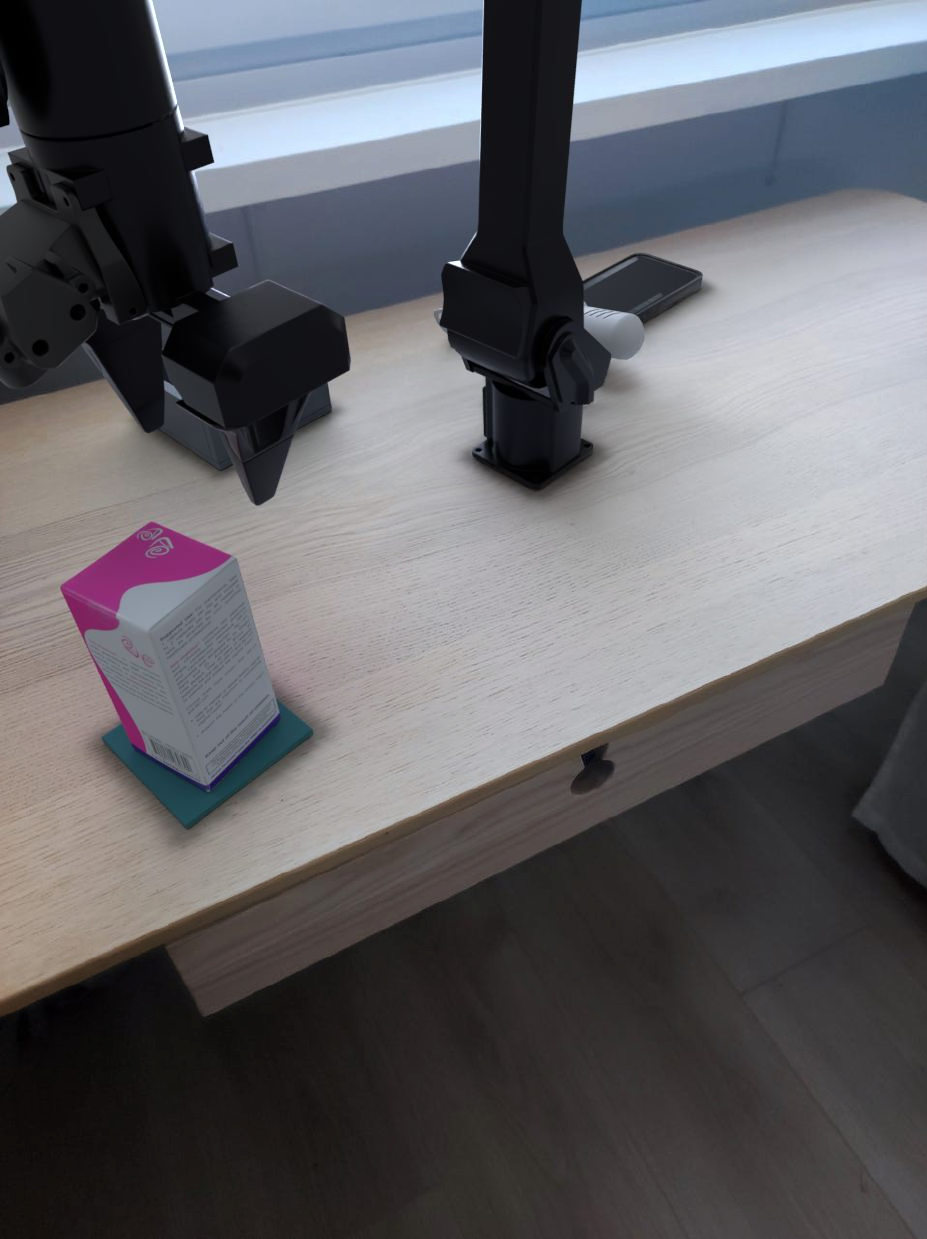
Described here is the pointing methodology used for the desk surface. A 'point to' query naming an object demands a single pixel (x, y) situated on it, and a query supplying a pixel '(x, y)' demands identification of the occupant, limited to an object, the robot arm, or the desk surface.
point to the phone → (641, 285)
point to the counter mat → (197, 803)
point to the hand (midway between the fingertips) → (206, 463)
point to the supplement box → (176, 651)
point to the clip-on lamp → (607, 330)
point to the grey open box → (208, 438)
